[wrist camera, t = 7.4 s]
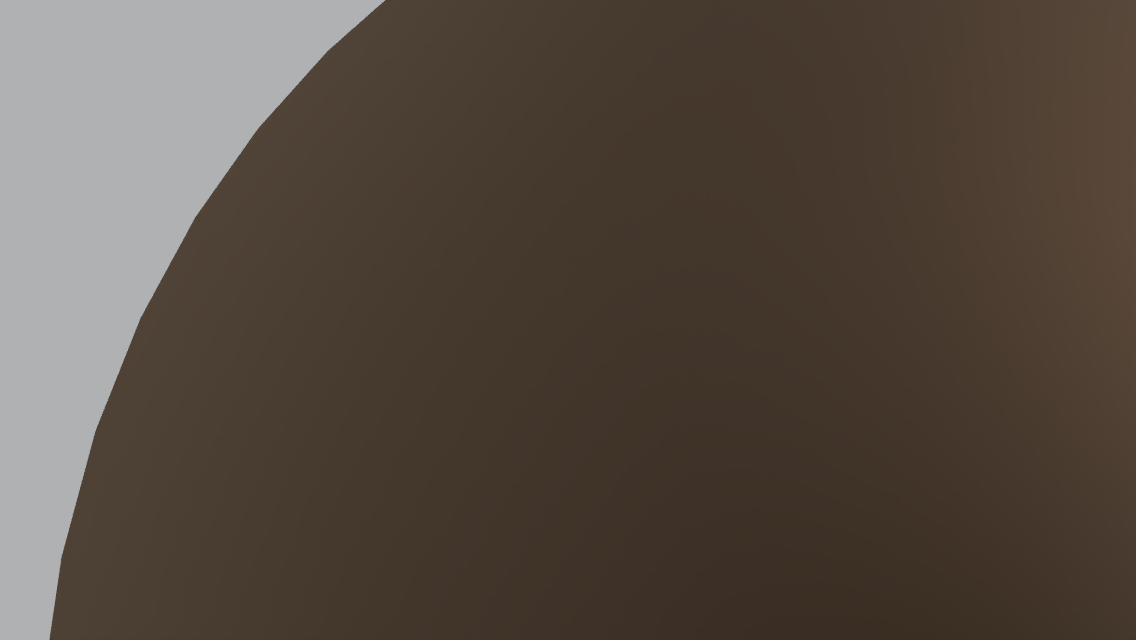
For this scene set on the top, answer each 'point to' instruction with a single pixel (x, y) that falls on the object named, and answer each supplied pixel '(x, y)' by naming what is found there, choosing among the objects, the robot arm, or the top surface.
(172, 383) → the walnut cylinder
